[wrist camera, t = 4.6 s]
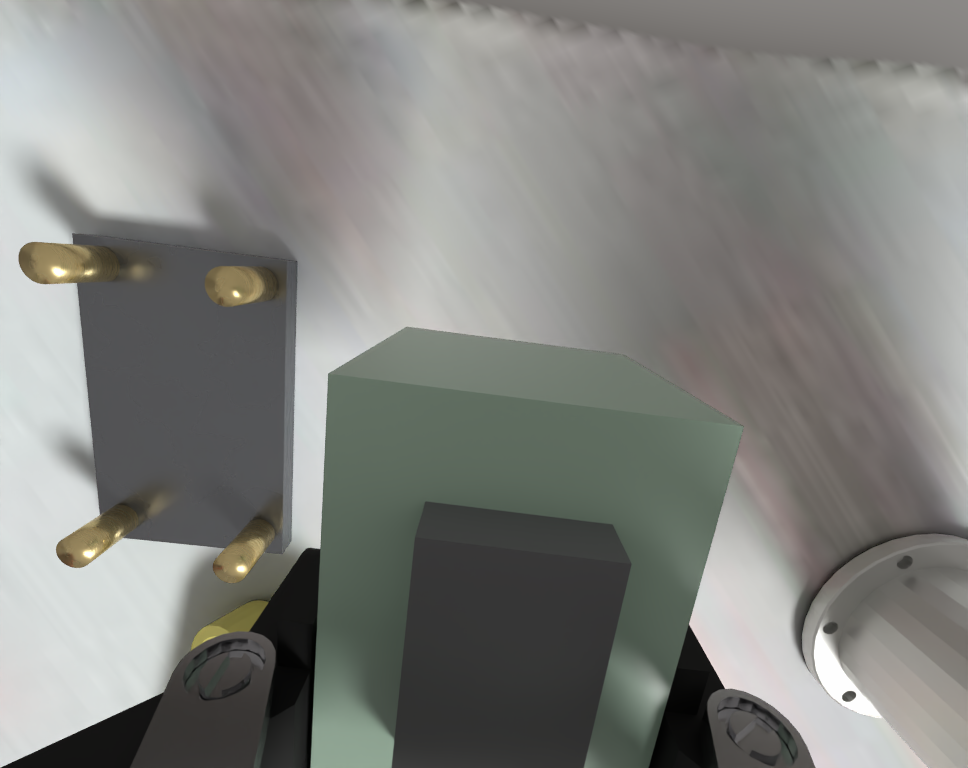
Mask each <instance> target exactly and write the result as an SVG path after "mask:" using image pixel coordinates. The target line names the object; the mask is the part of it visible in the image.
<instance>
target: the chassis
mask: <svg viewBox="0 0 968 768" xmlns="http://www.w3.org/2000/svg"><path fill="white" fill-rule="evenodd" d="M72 235H73V244H59V243H42V242H31V243H28V244H26V245H24V246H23V247H22V248H21V250H20V252H19V264H20V267H21V269H22V271H23V272H24V274H25V275H26V276H27V277H28V278H29V279H31V280H32V281H34V282H37V283H40V284H60V283H77V286H78V296H79V306H80V316H81V327H82V337H83V347H84V357H85V367H86V377H87V387H88V398H89V408H90V418H91V428H92V438H93V448H94V458H95V468H96V479H97V489H98V499H99V509H100V515H99V516H98V517H96V518H95V519H93V520H92V521H90V522H89V523H87V524H86V525H84V526H83V527H81V528H79V529H78V530H76V531H75V532H73V533H72V534H70V535H69V536H67V537H66V538H64V539H63V540H61V541H60V542H59V543H58V544H57V547H56V553H57V556H58V557H59V559H60V560H61V561H62V562H63V563H64V564H66V565H68V566H70V567H74V568H81V567H84V566H86V565H88V564H89V563H90V562H92V561H93V560H94V559H96V558H97V557H98V556H100V555H101V554H102V553H104V552H105V551H106V550H107V549H109V548H110V547H111V546H113V545H114V544H115V543H117V542H118V541H119V540H121V539H122V538H130V539H140V540H149V541H159V542H169V543H179V544H189V545H198V546H208V547H218V548H225V549H224V550H223V552H222V553H221V554H220V555H219V556H218V557H217V558H216V559H215V561H214V563H213V571H214V573H215V575H216V576H217V577H218V578H219V579H220V580H222V581H224V582H227V583H237V582H240V581H242V580H243V579H244V578H245V577H246V575H247V574H248V573H249V571H250V570H251V569H252V567H253V566H254V565H255V563H256V562H257V561H258V559H259V558H260V557H261V555H262V554H263V553H264V552H267V553H277V554H283V552H284V551H285V549H286V548H287V546H288V545H289V544H290V542H291V526H292V479H293V432H294V385H295V337H296V290H297V261H290V260H282V259H275V258H267V257H259V256H252V255H244V254H236V253H228V252H221V251H213V250H205V249H197V248H190V247H182V246H174V245H166V244H159V243H151V242H143V241H135V240H128V239H120V238H112V237H104V236H97V235H86V234H75V233H72Z"/></svg>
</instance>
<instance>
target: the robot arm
mask: <svg viewBox="0 0 968 768" xmlns="http://www.w3.org/2000/svg"><path fill="white" fill-rule="evenodd" d="M319 570H320V549H315V548H307V549H306V550H305V551H304V552H303V553H302V554H301V556H300V557H299V559H298V560H297V562H296V563H295V565H294V566H293V568H292V569H291V570H290V572H289V573H288V575H287V576H286V578H285V579H284V581H283V582H282V584H281V585H280V587H279V588H278V590H277V591H276V592H275V594H274V595H273V597H272V598H271V600H270V601H269V603H268V604H267V606H266V607H265V609H264V610H263V612H262V613H261V614H260V616H259V617H258V619H257V620H256V622H255V623H254V625H253V626H252V628H251V629H250V631H249V632H242V631H237V632H232V633H227V634H222V635H219V636H217V637H214V638H212V639H209V640H207V641H205V642H204V643H202V644H200V645H199V646H197V647H196V648H194V649H192V650H191V651H190V652H189V653H188V654H187V655H186V656H185V657H184V658H183V659H182V660H181V661H180V662H179V664H178V666H177V667H176V669H175V670H174V672H173V673H172V676H171V678H170V680H169V682H168V685H167V687H166V689H165V691H164V693H162V694H159V695H157V696H155V697H153V698H151V699H149V700H146V701H144V702H142V703H140V704H138V705H136V706H133V707H131V708H129V709H127V710H125V711H123V712H120V713H118V714H116V715H114V716H112V717H110V718H107V719H105V720H103V721H101V722H99V723H97V724H94V725H92V726H90V727H88V728H86V729H84V730H81V731H79V732H77V733H75V734H73V735H71V736H68V737H66V738H64V739H62V740H60V741H58V742H55V743H53V744H51V745H49V746H47V747H45V748H42V749H40V750H38V751H36V752H34V753H32V754H29V755H27V756H25V757H23V758H21V759H19V760H16V761H14V762H12V763H10V764H8V765H6V766H3V767H1V768H311V747H312V725H313V703H314V681H315V659H316V637H317V615H318V592H319ZM802 650H803V654H804V658H805V661H806V665H807V667H808V668H809V670H810V672H811V673H812V675H813V677H814V678H815V680H816V681H817V682H818V683H819V684H820V685H821V687H822V688H823V689H824V690H825V691H826V693H827V694H828V695H829V696H830V697H831V698H832V699H834V700H835V701H836V702H837V703H839V704H840V705H842V706H844V707H846V708H848V709H850V710H852V711H854V712H856V713H860V714H864V715H867V716H871V717H877V718H884V719H885V720H886V721H887V723H888V724H889V725H890V726H891V727H892V728H893V729H894V730H895V731H896V733H897V734H898V735H899V736H900V737H901V738H902V739H903V740H904V741H905V743H906V744H907V745H908V746H909V747H910V748H911V749H912V750H913V752H914V753H915V754H916V755H917V756H918V757H919V758H920V759H921V760H922V762H923V763H924V764H925V765H926V766H927V767H928V768H968V540H967V539H964V538H961V537H958V536H953V535H944V534H921V535H912V536H907V537H903V538H899V539H894V540H891V541H888V542H886V543H883V544H881V545H878V546H875V547H873V548H871V549H869V550H867V551H865V552H864V553H862V554H860V555H858V556H857V557H855V558H853V559H852V560H851V561H849V562H848V563H847V564H845V565H844V566H843V567H842V568H840V569H839V570H838V571H837V572H836V573H835V574H834V575H833V576H832V577H831V578H830V579H829V580H828V581H827V582H826V583H825V584H824V585H823V587H822V588H821V590H820V591H819V593H818V594H817V596H816V597H815V599H814V600H813V602H812V604H811V606H810V609H809V611H808V614H807V616H806V618H805V623H804V628H803V633H802ZM649 768H815V765H814V763H813V760H812V758H811V755H810V753H809V750H808V748H807V746H806V744H805V742H804V741H803V739H802V737H801V735H800V733H799V732H798V731H797V730H796V729H795V727H794V726H793V725H792V724H791V723H790V721H789V720H788V719H787V718H786V717H784V716H783V715H782V714H781V713H780V712H779V711H777V710H776V709H775V708H774V707H772V706H771V705H769V704H768V703H766V702H765V701H763V700H762V699H760V698H758V697H756V696H753V695H751V694H749V693H747V692H744V691H739V690H735V689H725V688H724V686H723V684H722V683H721V681H720V679H719V677H718V675H717V674H716V672H715V670H714V668H713V667H712V665H711V663H710V661H709V659H708V658H707V656H706V654H705V652H704V651H703V649H702V647H701V645H700V644H699V642H698V640H697V638H696V636H695V635H694V633H693V631H692V629H691V628H690V626H689V625H688V629H687V632H686V636H685V639H684V643H683V646H682V650H681V654H680V657H679V661H678V664H677V668H676V671H675V675H674V679H673V682H672V686H671V689H670V693H669V696H668V700H667V704H666V707H665V711H664V714H663V718H662V722H661V725H660V729H659V732H658V736H657V739H656V743H655V747H654V750H653V754H652V757H651V761H650V764H649Z"/></svg>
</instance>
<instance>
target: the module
mask: <svg viewBox="0 0 968 768" xmlns="http://www.w3.org/2000/svg"><path fill="white" fill-rule="evenodd" d="M743 428H744V426H742V425H741V424H739V423H737V422H736V421H734V420H732V419H731V418H729V417H727V416H726V415H724V414H722V413H721V412H719V411H717V410H716V409H714V408H712V407H711V406H709V405H707V404H706V403H704V402H702V401H701V400H699V399H697V398H695V397H694V396H692V395H690V394H689V393H687V392H685V391H684V390H682V389H680V388H679V387H677V386H675V385H674V384H672V383H670V382H669V381H667V380H665V379H664V378H662V377H660V376H659V375H657V374H655V373H654V372H652V371H650V370H649V369H647V368H645V367H644V366H642V365H640V364H639V363H637V362H635V361H633V360H632V359H630V358H628V357H627V356H625V355H621V354H614V353H606V352H598V351H590V350H583V349H575V348H567V347H559V346H552V345H544V344H536V343H528V342H521V341H513V340H505V339H497V338H490V337H482V336H474V335H466V334H459V333H451V332H443V331H435V330H428V329H420V328H412V327H406V328H404V329H402V330H401V331H399V332H397V333H396V334H394V335H392V336H391V337H389V338H387V339H385V340H384V341H382V342H380V343H379V344H377V345H375V346H374V347H372V348H370V349H369V350H367V351H365V352H364V353H362V354H360V355H359V356H357V357H355V358H354V359H352V360H350V361H349V362H347V363H345V364H344V365H342V366H340V367H339V368H337V369H335V370H334V371H332V372H330V373H329V374H328V393H327V415H326V438H325V460H324V482H323V504H322V526H321V548H320V570H319V592H318V615H317V637H316V659H315V681H314V703H313V725H312V747H311V768H649V764H650V761H651V757H652V754H653V750H654V747H655V743H656V739H657V736H658V732H659V729H660V725H661V722H662V718H663V714H664V711H665V707H666V704H667V700H668V696H669V693H670V689H671V686H672V682H673V679H674V675H675V671H676V668H677V664H678V661H679V657H680V654H681V650H682V646H683V643H684V639H685V636H686V632H687V629H688V625H689V621H690V618H691V614H692V611H693V607H694V604H695V600H696V596H697V593H698V589H699V586H700V582H701V579H702V575H703V571H704V568H705V564H706V561H707V557H708V554H709V550H710V546H711V543H712V539H713V536H714V532H715V529H716V525H717V521H718V518H719V514H720V511H721V507H722V504H723V500H724V496H725V493H726V489H727V486H728V482H729V478H730V475H731V471H732V468H733V464H734V461H735V457H736V453H737V450H738V446H739V443H740V439H741V436H742V432H743Z"/></svg>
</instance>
